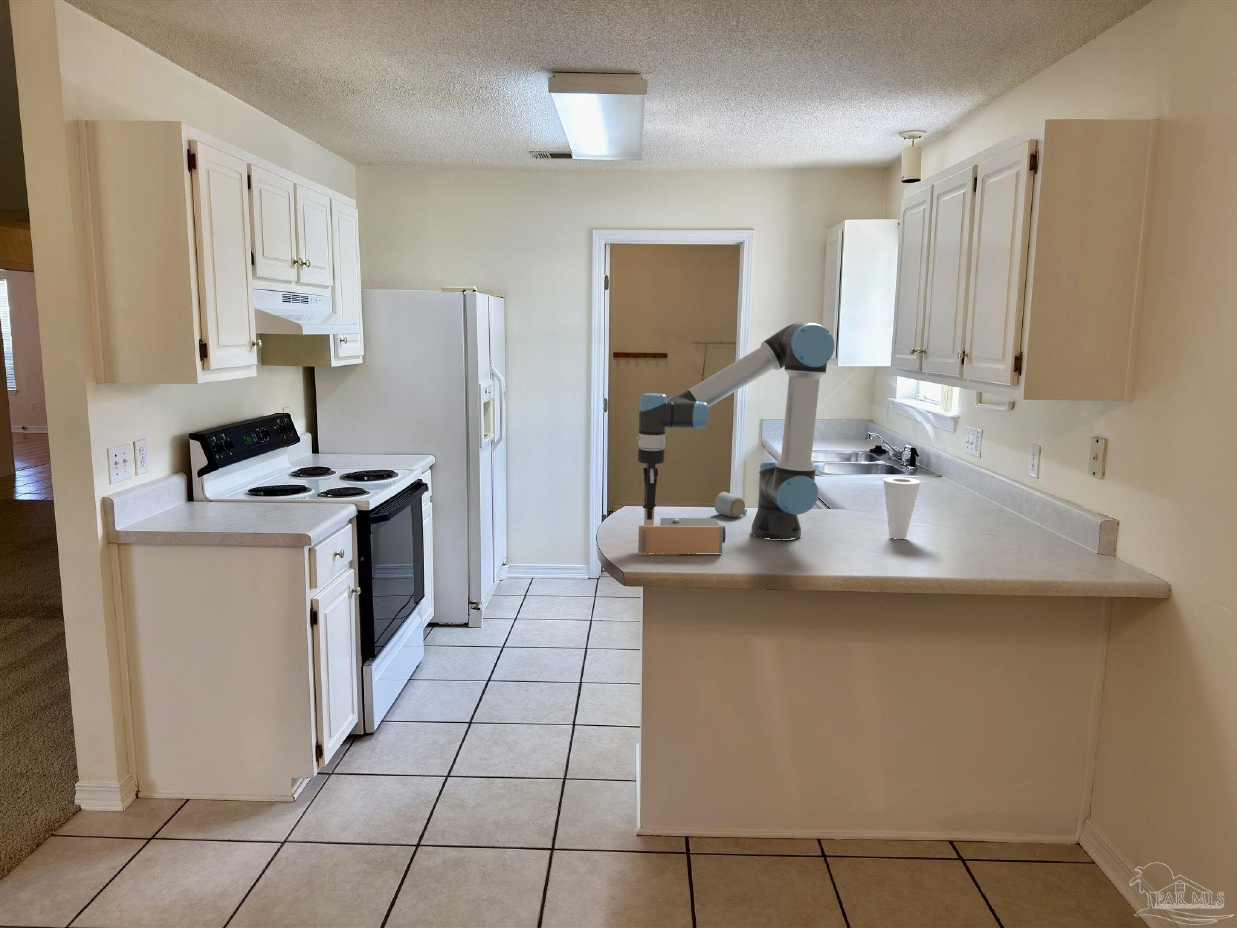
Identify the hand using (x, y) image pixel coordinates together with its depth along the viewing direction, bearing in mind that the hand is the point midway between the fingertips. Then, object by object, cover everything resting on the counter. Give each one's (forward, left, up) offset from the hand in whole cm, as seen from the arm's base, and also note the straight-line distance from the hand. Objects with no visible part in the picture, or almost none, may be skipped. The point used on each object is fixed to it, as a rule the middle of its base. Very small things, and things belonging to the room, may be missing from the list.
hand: (648, 529), depth 239 cm
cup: (-78, -14, -6) cm, 79 cm away
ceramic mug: (-31, -42, -6) cm, 53 cm away
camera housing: (-12, 0, -6) cm, 13 cm away
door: (-9, +7, -5) cm, 12 cm away
